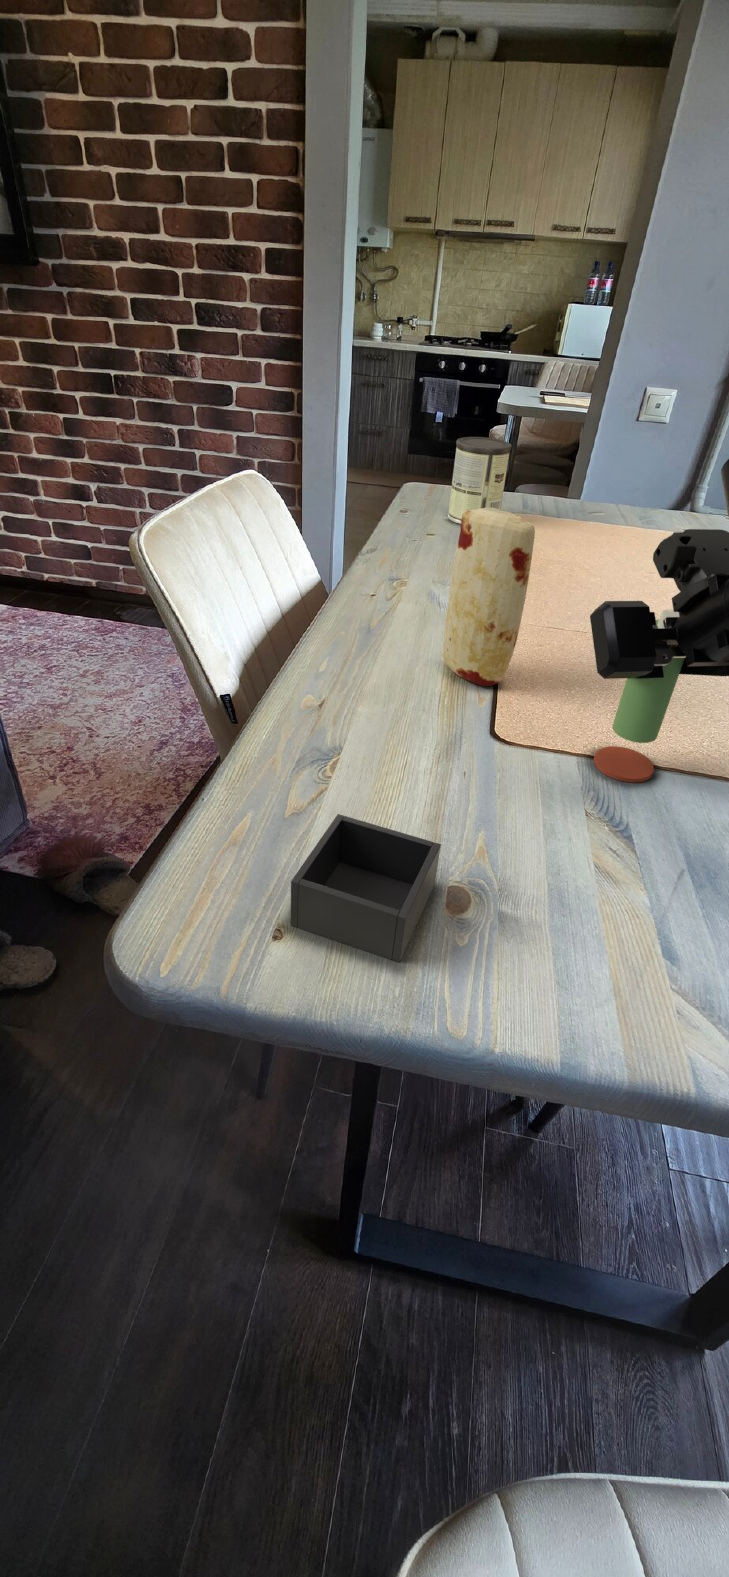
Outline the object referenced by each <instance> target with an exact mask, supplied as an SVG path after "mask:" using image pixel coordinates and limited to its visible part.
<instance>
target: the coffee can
mask: <svg viewBox="0 0 729 1577" xmlns="http://www.w3.org/2000/svg"><path fill="white" fill-rule="evenodd" d="M455 442H456V448H455V456H454V457H455V458H454V464H453V472H452V481H451V489H450V495H449V496H450V497H449V505H448V506H449V507H448V513H447V519H448V520H450V521H451V522H454V523H456V524H459V525H461V521H462V515H463V513H464V512H465V511H468V510H476V509H481V508H486V507H490V508H496V509H499V510H502V509H501V507H502V502H503V497H504V495H503V494H504V490H505V484H506V478H507V473H508V472H507V471H508V466H509V461H510V460H509V459H510V454H511V450H512V447H513V445H512V444H511V443H510V442H508V441H505V440H502V439H497V438H492V437H486V436H485V437H483V436H464V437H459V438H458V439H456V441H455Z"/></svg>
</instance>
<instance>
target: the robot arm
mask: <svg viewBox="0 0 729 1577" xmlns="http://www.w3.org/2000/svg"><path fill="white" fill-rule="evenodd" d="M720 474H721V476H720V477H721V482H722V487H723V493H724V500H725V505H726V511H727V517H728V519H729V458H728V459H727V460H726V461H725V463H723V465H722V467H721V469H720ZM652 562H653V563H654V566H655V568H656V570H657V573H658V575H659V577H660V578H661V579H673V581H674V583H675V585H676V587H677V589H678V591H679V592H678V593H676V594H675V595H674V596H673V597H671V603H672V610H673V611H674V612H679V617H667V618H665V619H664V620H663V624H664V628H658V626H657V625H656V620H657V619H656V614H655V611H651V609H650V606H649V605H648V604H647V603H645V602H644V601H643V600H605V601H604V602H602V603H601V604H600V605H599V606H598V607H596V608H595V609H594V610H593V611H592V613H590V615H589V619H590V620H589V621H590V626H591V627H590V628H591V635H592V643H593V652H594V658H595V664H596V666H595V667H596V672H597V674H598V675H599V676H600V677H602V678H603V679H604V680H613V679H615V680H616V679H627V678H635V679H649V678H664V673H663V666H665V665H667V664H669V663H670V662H671V660H672V658H685V659H684V662H683V665H682V667H681V670H680V673H679V675H687V676H706V677H707V676H708V677H729V531H727V530H725V529H716V528H715V529H712V528H710V529H709V528H707V529H705V528H688V529H685V530H683V531H682V532H681V531H680V532H679V531H677V532H675V531H674V532H673V533H672V534H670V535H669V536H667V537H666V538H664V539H662V540H661V541H660V542H659V543H658V545H657V546H656V548H655V550H654V552H653V553H652ZM671 646H672V647H671ZM675 646H676V647H675Z"/></svg>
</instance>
